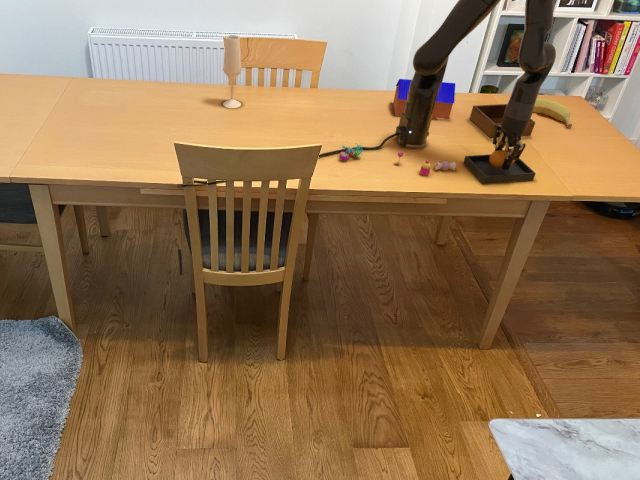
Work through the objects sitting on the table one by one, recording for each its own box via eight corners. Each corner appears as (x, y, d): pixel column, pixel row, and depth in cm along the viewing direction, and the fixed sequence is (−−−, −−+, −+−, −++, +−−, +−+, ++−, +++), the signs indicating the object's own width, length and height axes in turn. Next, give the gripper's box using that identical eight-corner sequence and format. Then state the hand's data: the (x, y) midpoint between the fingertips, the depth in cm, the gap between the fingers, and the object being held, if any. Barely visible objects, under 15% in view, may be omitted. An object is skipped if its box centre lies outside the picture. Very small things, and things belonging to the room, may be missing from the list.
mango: (492, 171, 182) (497, 156, 179) (484, 163, 186) (488, 148, 183) (515, 169, 184) (521, 154, 180) (507, 161, 188) (512, 146, 184)
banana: (538, 87, 222) (584, 113, 211) (534, 99, 226) (578, 125, 216) (513, 103, 218) (558, 130, 208) (509, 115, 222) (553, 142, 212)
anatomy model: (333, 140, 188) (344, 147, 183) (354, 137, 191) (366, 143, 186) (332, 155, 191) (343, 163, 186) (353, 152, 194) (364, 159, 189)
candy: (449, 164, 189) (454, 147, 185) (456, 176, 183) (462, 159, 179) (394, 162, 188) (398, 145, 184) (399, 175, 182) (403, 158, 178)
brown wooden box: (489, 140, 203) (494, 124, 199) (468, 120, 214) (473, 105, 211) (529, 137, 206) (535, 122, 202) (507, 118, 217) (512, 103, 213)
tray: (482, 184, 180) (485, 176, 178) (463, 163, 190) (465, 155, 188) (532, 180, 183) (535, 173, 181) (511, 160, 193) (513, 152, 191)
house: (392, 103, 224) (398, 72, 216) (444, 107, 222) (452, 76, 215) (394, 116, 215) (400, 85, 207) (449, 120, 213) (457, 89, 206)
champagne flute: (240, 100, 220) (242, 34, 204) (241, 108, 215) (242, 40, 199) (222, 100, 219) (223, 34, 204) (223, 107, 214) (223, 40, 199)
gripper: (494, 104, 178) (478, 154, 189) (519, 124, 168) (500, 176, 179) (516, 103, 179) (499, 153, 191) (542, 123, 169) (523, 175, 180)
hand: (500, 164), depth 185 cm, fingers closed on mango, 5 cm apart
